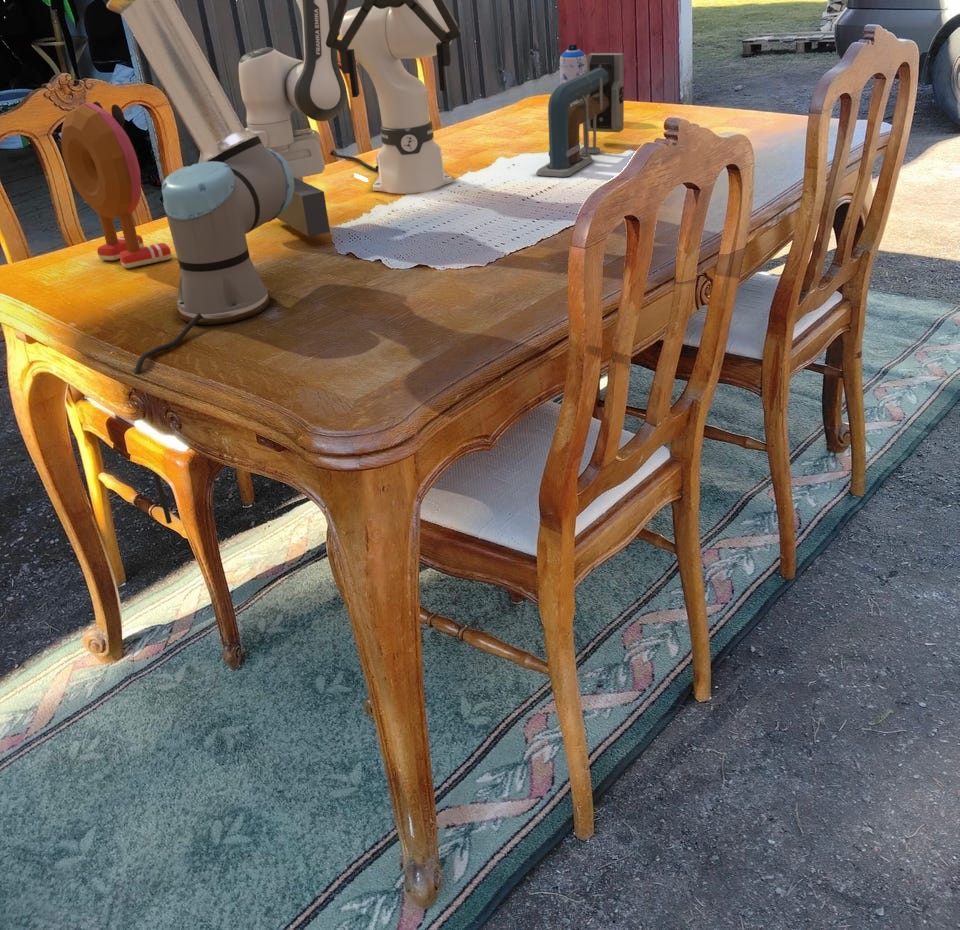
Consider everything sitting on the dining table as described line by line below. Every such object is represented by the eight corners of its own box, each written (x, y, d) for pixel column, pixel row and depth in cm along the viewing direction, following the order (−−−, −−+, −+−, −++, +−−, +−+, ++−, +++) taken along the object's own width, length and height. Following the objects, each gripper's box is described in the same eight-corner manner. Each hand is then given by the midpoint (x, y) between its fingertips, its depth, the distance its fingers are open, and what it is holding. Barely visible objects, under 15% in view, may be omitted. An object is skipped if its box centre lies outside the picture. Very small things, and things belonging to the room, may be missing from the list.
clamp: (567, 177, 223) (565, 79, 213) (533, 175, 227) (529, 78, 216) (623, 141, 249) (623, 53, 238) (592, 140, 253) (590, 53, 242)
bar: (330, 232, 192) (324, 191, 188) (308, 236, 191) (301, 195, 187) (288, 209, 210) (281, 171, 206) (268, 213, 208) (261, 175, 204)
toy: (184, 259, 191) (146, 100, 176) (138, 275, 185) (94, 111, 170) (129, 242, 204) (90, 93, 189) (85, 256, 198) (40, 102, 183)
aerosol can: (559, 122, 275) (557, 47, 265) (562, 117, 282) (559, 42, 272) (587, 121, 274) (585, 45, 263) (589, 115, 280) (587, 41, 270)
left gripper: (469, -72, 141) (480, 82, 152) (301, -58, 143) (324, 93, 153) (467, -70, 135) (479, 90, 145) (291, -56, 136) (315, 102, 147)
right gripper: (312, 124, 204) (322, 190, 211) (218, 141, 196) (232, 209, 203) (324, 128, 199) (333, 195, 206) (228, 146, 191) (242, 215, 198)
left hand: (399, 92), depth 149 cm, fingers open, 13 cm apart
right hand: (282, 202), depth 204 cm, fingers closed on bar, 4 cm apart
